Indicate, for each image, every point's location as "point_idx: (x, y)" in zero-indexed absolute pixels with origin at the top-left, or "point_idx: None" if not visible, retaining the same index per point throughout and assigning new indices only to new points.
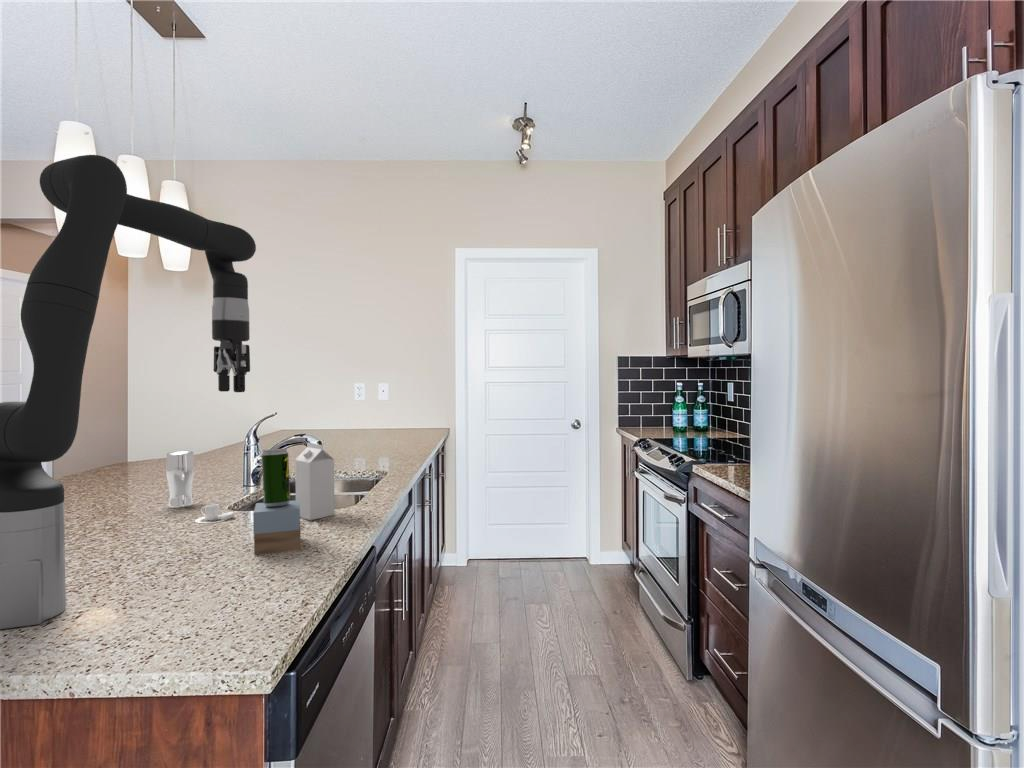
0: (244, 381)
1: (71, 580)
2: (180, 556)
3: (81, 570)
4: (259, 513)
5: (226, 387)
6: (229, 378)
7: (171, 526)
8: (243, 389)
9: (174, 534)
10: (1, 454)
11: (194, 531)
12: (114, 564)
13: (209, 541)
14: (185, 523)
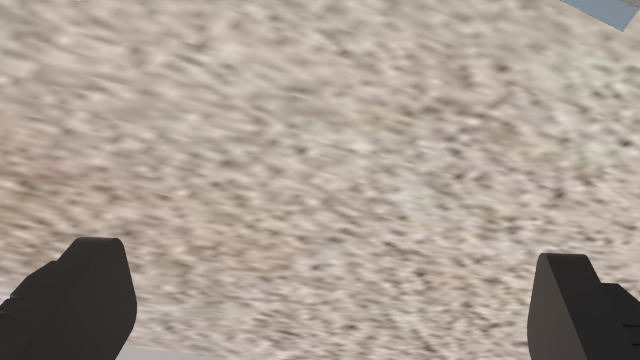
0: (629, 344)
1: (419, 318)
2: (425, 142)
3: (365, 295)
4: (634, 11)
5: (105, 285)
6: (39, 337)
7: (92, 68)
8: (617, 291)
9: (193, 89)
10: None
11: (195, 39)
12: (371, 250)
13: (340, 44)
14: (76, 27)
